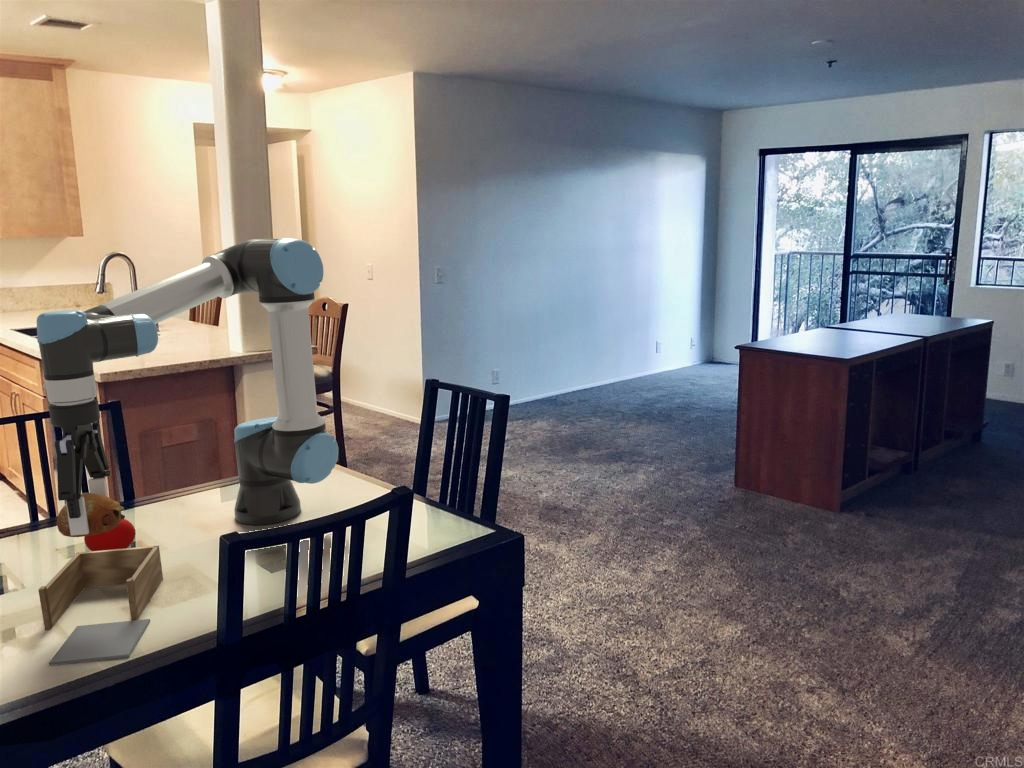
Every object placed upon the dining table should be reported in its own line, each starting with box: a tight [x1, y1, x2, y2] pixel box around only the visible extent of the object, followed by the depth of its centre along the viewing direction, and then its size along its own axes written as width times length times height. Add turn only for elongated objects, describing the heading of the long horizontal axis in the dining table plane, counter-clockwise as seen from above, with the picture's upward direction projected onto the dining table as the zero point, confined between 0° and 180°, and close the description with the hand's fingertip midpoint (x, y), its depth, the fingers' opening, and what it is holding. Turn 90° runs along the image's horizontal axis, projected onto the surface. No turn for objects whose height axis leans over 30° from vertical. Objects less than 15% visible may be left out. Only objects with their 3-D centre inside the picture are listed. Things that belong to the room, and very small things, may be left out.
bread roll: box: [56, 492, 126, 538], centre depth 142 cm, size 10×10×8 cm
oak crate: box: [38, 545, 164, 631], centre depth 147 cm, size 15×17×8 cm
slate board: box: [48, 618, 151, 666], centre depth 134 cm, size 12×12×1 cm
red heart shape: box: [83, 518, 136, 551], centre depth 163 cm, size 9×7×10 cm
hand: (91, 523), depth 142 cm, fingers closed on bread roll, 10 cm apart
